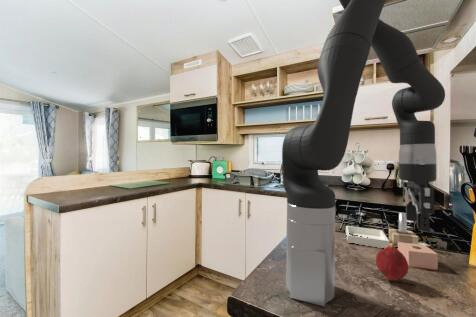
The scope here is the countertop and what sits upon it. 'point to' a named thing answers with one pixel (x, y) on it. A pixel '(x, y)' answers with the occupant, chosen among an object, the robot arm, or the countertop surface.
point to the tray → (374, 236)
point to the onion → (392, 263)
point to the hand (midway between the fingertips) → (416, 224)
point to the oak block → (402, 237)
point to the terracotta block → (419, 255)
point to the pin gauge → (402, 223)
